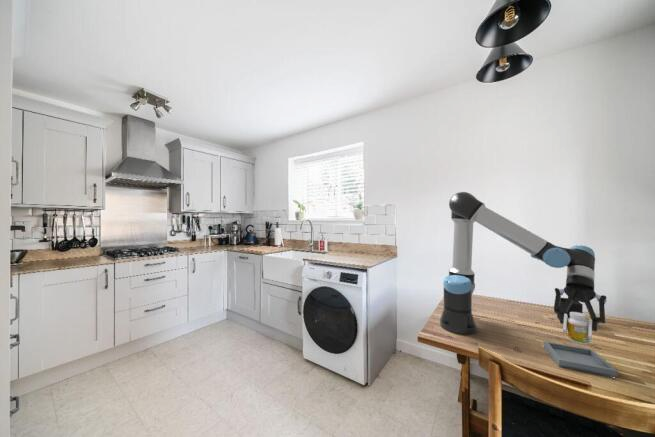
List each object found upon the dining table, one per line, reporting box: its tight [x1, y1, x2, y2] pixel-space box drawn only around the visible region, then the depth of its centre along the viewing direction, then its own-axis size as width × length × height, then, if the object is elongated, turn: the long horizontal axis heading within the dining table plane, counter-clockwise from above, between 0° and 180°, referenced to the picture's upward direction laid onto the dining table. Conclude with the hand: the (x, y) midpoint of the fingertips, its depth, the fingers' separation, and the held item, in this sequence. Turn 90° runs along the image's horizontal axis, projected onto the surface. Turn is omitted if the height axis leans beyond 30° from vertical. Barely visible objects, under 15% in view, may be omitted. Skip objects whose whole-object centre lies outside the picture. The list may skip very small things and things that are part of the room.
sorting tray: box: [543, 340, 618, 379], centre depth 85 cm, size 14×14×2 cm
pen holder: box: [556, 297, 584, 321], centre depth 119 cm, size 9×9×10 cm
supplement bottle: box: [566, 312, 590, 345], centre depth 84 cm, size 5×5×10 cm
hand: (577, 334), depth 82 cm, fingers closed on supplement bottle, 5 cm apart
